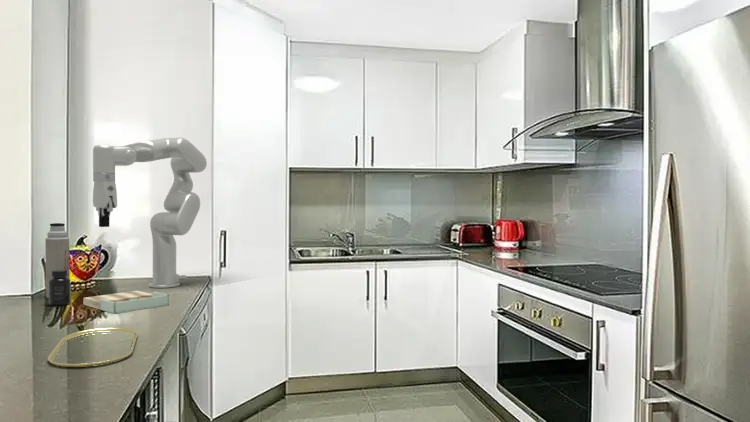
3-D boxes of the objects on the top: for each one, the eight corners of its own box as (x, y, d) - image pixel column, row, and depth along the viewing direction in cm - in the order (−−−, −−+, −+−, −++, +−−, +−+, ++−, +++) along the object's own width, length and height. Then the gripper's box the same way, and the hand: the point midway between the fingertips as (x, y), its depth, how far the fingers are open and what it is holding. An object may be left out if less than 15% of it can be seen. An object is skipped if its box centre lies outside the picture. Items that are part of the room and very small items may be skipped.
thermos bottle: (73, 294, 219) (73, 222, 218) (62, 298, 211) (61, 224, 210) (53, 294, 219) (53, 222, 218) (41, 298, 211) (40, 223, 210)
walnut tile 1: (157, 297, 200) (157, 304, 200) (150, 296, 203) (150, 302, 203) (144, 299, 196) (144, 307, 196) (136, 298, 199) (136, 304, 199)
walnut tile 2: (135, 301, 193) (135, 308, 193) (127, 299, 196) (127, 306, 196) (121, 303, 189) (121, 310, 189) (113, 301, 192) (113, 308, 192)
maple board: (136, 297, 216) (136, 290, 216) (153, 301, 209) (153, 294, 209) (83, 304, 200) (83, 297, 200) (99, 309, 193) (99, 302, 193)
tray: (154, 301, 208) (154, 291, 208) (168, 304, 203) (168, 295, 202) (100, 309, 193) (100, 299, 193) (114, 313, 187) (114, 303, 187)
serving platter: (139, 331, 166) (139, 326, 166) (130, 366, 133) (129, 360, 133) (68, 335, 160) (68, 330, 160) (39, 374, 127) (39, 367, 127)
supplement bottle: (74, 302, 204) (74, 269, 203) (62, 306, 197) (62, 272, 196) (57, 302, 204) (57, 269, 204) (44, 305, 198) (44, 271, 197)
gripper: (124, 178, 210) (124, 227, 211) (104, 178, 219) (104, 225, 220) (104, 177, 204) (104, 228, 205) (84, 178, 213) (84, 226, 214)
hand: (104, 226), depth 212 cm, fingers closed
